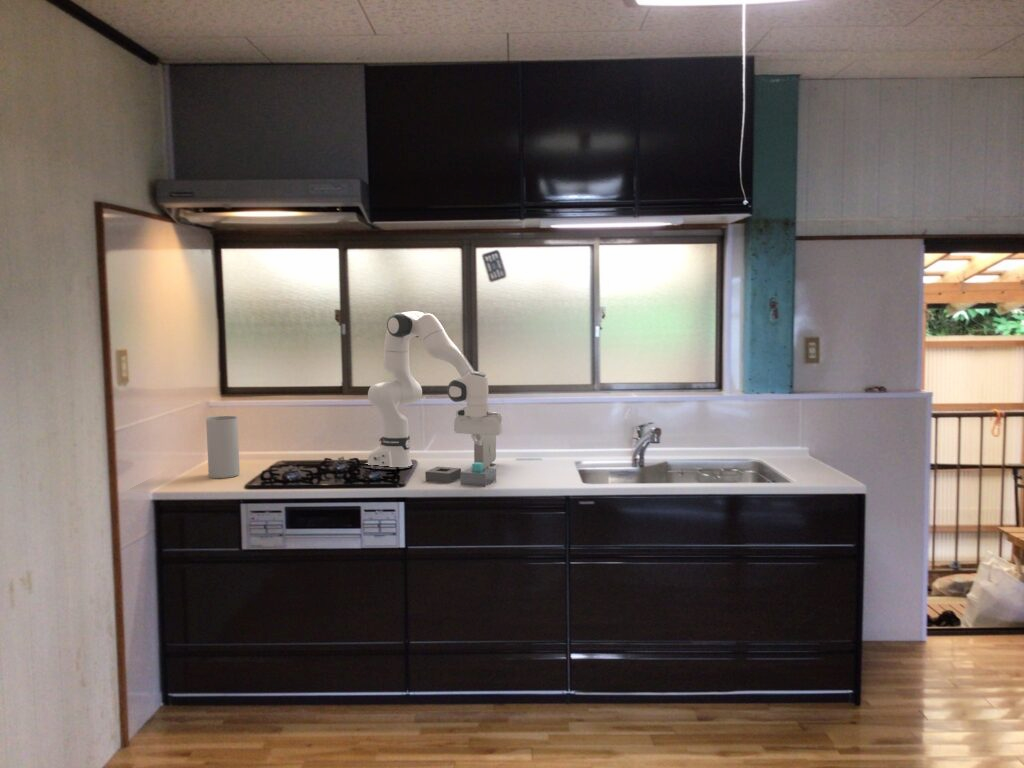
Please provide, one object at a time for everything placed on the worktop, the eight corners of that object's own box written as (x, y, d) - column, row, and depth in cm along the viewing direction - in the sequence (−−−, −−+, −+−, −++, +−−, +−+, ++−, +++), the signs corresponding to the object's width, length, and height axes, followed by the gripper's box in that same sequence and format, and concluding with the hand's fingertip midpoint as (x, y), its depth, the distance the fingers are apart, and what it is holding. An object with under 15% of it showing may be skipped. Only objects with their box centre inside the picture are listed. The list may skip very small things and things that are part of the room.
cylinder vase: (216, 480, 321) (214, 421, 318) (203, 475, 330) (201, 418, 327) (245, 475, 330) (242, 417, 327) (231, 471, 338) (229, 415, 336)
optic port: (460, 484, 312) (460, 472, 311) (471, 478, 322) (471, 466, 321) (485, 486, 308) (485, 474, 307) (495, 480, 318) (495, 468, 317)
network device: (488, 475, 329) (487, 429, 327) (468, 474, 330) (467, 428, 328) (500, 463, 354) (500, 420, 352) (482, 462, 355) (481, 419, 353)
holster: (425, 481, 318) (425, 471, 317) (437, 475, 328) (437, 466, 327) (449, 483, 314) (449, 473, 313) (461, 477, 324) (460, 468, 323)
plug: (472, 483, 314) (472, 463, 313) (476, 481, 317) (475, 462, 316) (480, 483, 313) (480, 464, 312) (483, 481, 316) (483, 462, 315)
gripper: (504, 411, 311) (504, 445, 312) (458, 409, 319) (459, 442, 320) (498, 413, 305) (498, 447, 306) (452, 411, 313) (452, 444, 314)
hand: (478, 445), depth 313 cm, fingers closed
